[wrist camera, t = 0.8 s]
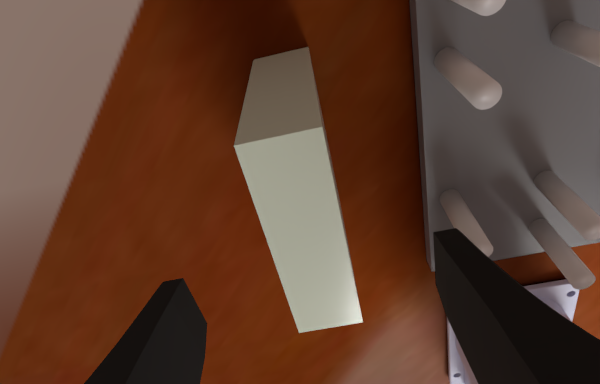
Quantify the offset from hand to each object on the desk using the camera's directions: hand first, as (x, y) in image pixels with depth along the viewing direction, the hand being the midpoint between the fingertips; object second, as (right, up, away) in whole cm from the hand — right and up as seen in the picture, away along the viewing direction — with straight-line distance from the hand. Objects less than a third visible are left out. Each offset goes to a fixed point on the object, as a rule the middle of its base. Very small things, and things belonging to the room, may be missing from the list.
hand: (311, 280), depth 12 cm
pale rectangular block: (0, +5, +8) cm, 9 cm away
